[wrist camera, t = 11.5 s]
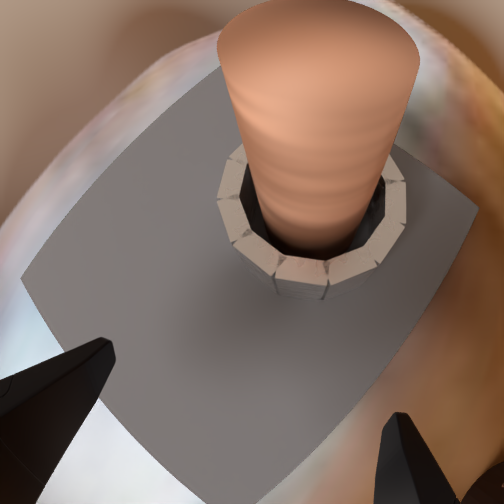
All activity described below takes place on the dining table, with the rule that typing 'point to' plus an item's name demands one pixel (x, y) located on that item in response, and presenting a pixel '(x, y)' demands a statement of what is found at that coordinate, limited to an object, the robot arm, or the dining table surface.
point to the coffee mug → (487, 488)
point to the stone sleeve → (303, 269)
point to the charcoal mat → (227, 306)
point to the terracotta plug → (316, 113)
